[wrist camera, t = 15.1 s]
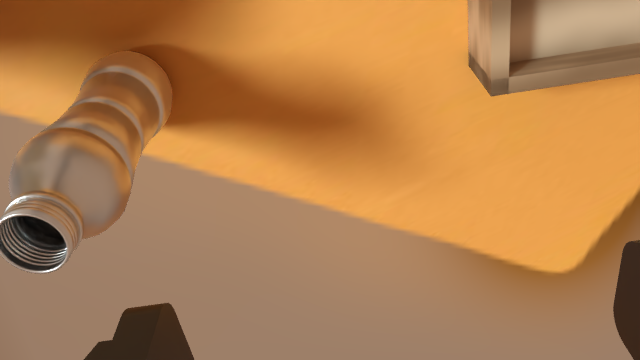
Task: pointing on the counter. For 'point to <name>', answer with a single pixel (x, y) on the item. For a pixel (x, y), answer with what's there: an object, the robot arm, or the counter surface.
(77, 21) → the counter surface
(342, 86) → the counter surface
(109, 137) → the plastic bottle
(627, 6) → the crate
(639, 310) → the robot arm
